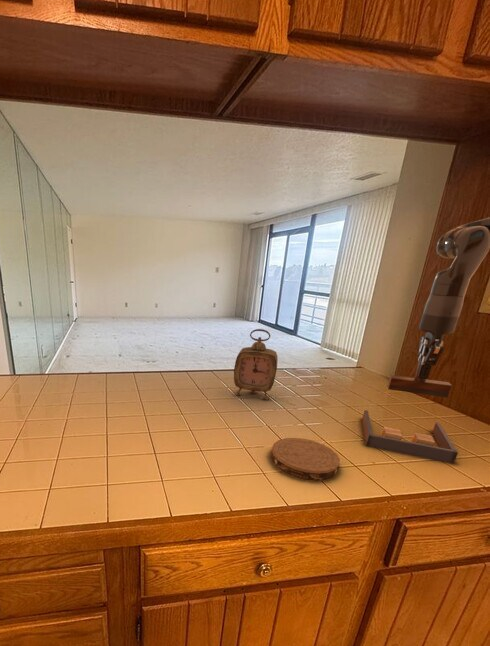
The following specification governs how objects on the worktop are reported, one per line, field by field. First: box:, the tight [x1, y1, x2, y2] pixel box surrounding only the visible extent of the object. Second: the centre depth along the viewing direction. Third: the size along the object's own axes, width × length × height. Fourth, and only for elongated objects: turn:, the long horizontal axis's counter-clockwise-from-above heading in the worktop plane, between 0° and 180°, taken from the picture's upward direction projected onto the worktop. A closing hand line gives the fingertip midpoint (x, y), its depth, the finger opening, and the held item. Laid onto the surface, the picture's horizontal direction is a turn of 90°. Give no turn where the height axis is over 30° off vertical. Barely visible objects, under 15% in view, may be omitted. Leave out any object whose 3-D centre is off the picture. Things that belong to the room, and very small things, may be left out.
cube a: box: [381, 426, 403, 440], centre depth 97 cm, size 4×4×4 cm
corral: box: [361, 410, 459, 464], centre depth 100 cm, size 19×20×4 cm
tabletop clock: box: [233, 328, 279, 401], centre depth 126 cm, size 14×9×25 cm, turn 70°
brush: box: [386, 358, 453, 398], centre depth 96 cm, size 14×3×10 cm, turn 65°
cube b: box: [411, 432, 436, 446], centre depth 94 cm, size 4×4×4 cm
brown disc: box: [270, 437, 340, 483], centre depth 87 cm, size 16×16×3 cm
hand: (421, 376), depth 96 cm, fingers closed on brush, 2 cm apart
